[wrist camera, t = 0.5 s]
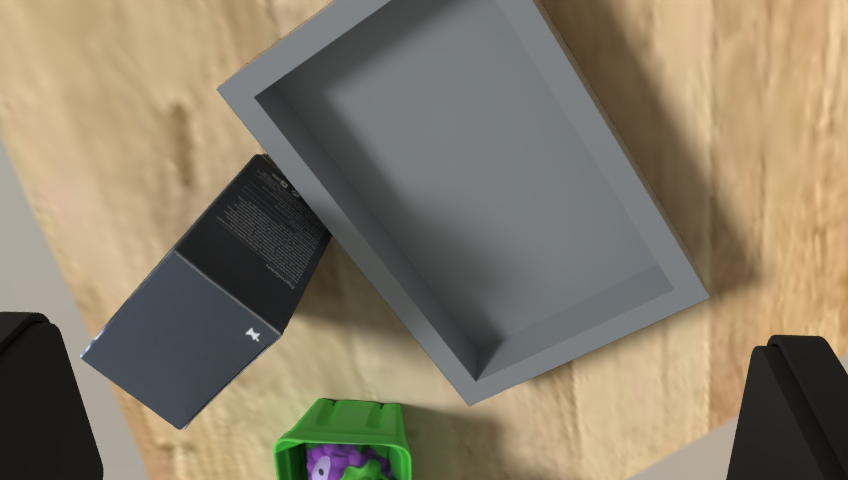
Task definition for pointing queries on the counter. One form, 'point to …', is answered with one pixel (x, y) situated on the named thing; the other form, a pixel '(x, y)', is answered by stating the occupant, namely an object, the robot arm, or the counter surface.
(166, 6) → the counter surface
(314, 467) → the fruit basket
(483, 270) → the tray
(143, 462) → the counter surface
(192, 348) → the box
